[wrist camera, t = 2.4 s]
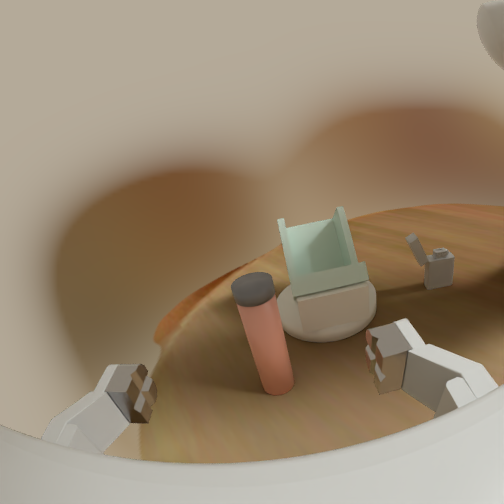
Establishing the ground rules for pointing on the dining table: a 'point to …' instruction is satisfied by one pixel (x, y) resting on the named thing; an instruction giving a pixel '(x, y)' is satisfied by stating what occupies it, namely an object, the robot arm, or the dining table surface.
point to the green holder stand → (324, 282)
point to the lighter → (433, 264)
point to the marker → (264, 330)
